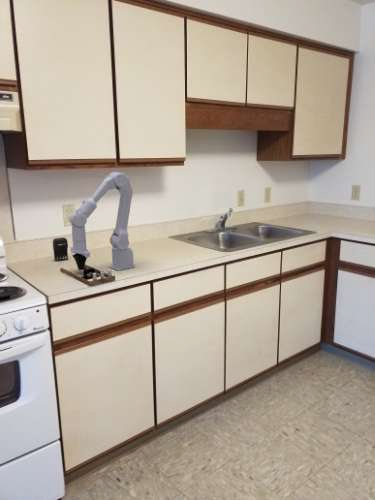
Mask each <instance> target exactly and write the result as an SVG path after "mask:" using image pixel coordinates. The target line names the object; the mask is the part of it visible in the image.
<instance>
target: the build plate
mask: <svg viewBox="0 0 375 500" xmlns="http://www.w3.org/2000/svg"><path fill="white" fill-rule="evenodd" d="M94 268H95V267H93V266H90V267H88V268H84V270H82V274H83V275H82V276H81V277H82V278H84V279H86V280H88V281H90V280H93V273H95V270H94ZM96 277H97V278H101V275H99V274H97V273H96Z"/></svg>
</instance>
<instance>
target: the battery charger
mask: <svg viewBox="0 0 375 500" xmlns="http://www.w3.org/2000/svg"><path fill="white" fill-rule="evenodd" d="M68 248H69V244H68V238H66V237H64V236H63V237H56V238H53V239H52V251H53V260H54V261H56V262H61V261H67V260H68V259H69V256H68V253H69V252H68Z"/></svg>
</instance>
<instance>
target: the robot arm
mask: <svg viewBox="0 0 375 500" xmlns="http://www.w3.org/2000/svg"><path fill="white" fill-rule="evenodd" d="M114 189H116V190H117V191H118V193H119V195H120V196H119V204H118V208H117V209H118V210H117V216H116V222H115V227H114V229H113V231H112V234H111V236H110V237H109V243H110V244H111V246H112V247H111V257H112V258H111V259H112V262H111V263H112V265H109V266H108V268H109V269H110V268H111V269H113V270H116V271H122V270H126V269H131V268H135V265H134V264H135V263H134V261H135V260H134V251H133V249H132V248H130V247H129V245H130V241H129V240H130V239H129V232H128V224H129V218H130V213H131V212H130V211H131V205H132V199H133V194H134V191H133V187H132V185H131V183H130V178H129V177H128V176H127V174H126V173H124V172H117V171H112V172H109V174H108V175H107V176H106V177H105V178H104V180H103V181H102V182H101V183H100V185H99V186H98V188H97V189H96V190H95V191H94V193H93V194H92V196H91V197H90V198H86V199H85V200H82V201H81V203H82V204H80V206H79V207H78V208H77V209H75V211H74V212H73V213H71V215H70V217H69V219H68V220H69V222H70V224H71V237H72V240H71V241H72V246H71V247H70V253H72V258H73V259H74V261H75V263H76V266H77V270H78V271H84V267H85V264H86V262H87V259H88V258H90V257H91V252H90V251H88V248H87V237H86V224H87V222H88V220H87V219H89V217H90V216H91V215H92V214H93V213H94V211H95V210H96V209H97V204H98V202H99V201H100V200H101V199H103V197H104V196H105V195H106V194H107V193H108V191H110V190H114Z"/></svg>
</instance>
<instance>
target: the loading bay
mask: <svg viewBox="0 0 375 500" xmlns="http://www.w3.org/2000/svg"><path fill="white" fill-rule="evenodd" d="M88 267H91V265H88V264H86V263H85V267H84V268H88ZM93 268H94V270H95V273H93V279H92V280H86V279H84V278H82V277H83V276H81V275H78V274H76V273H73V272H71V271H69V270H67V269H65V268H63V267H60V268H59V269H60V273H63V274H65V275H66V276H69V277H70V278H72V279H75V280H77V281H79V282H80V283H82V284H85V285H87V286H88V287H95V286H98V285H102V284H105V283H106V284H107V283H110V282H115V281H116V275H113V274H112V269H107V272H105V271H104V270H100V269H97V268H95V267H93ZM96 274H98V275H101V277H100V278H98V277H96Z"/></svg>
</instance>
